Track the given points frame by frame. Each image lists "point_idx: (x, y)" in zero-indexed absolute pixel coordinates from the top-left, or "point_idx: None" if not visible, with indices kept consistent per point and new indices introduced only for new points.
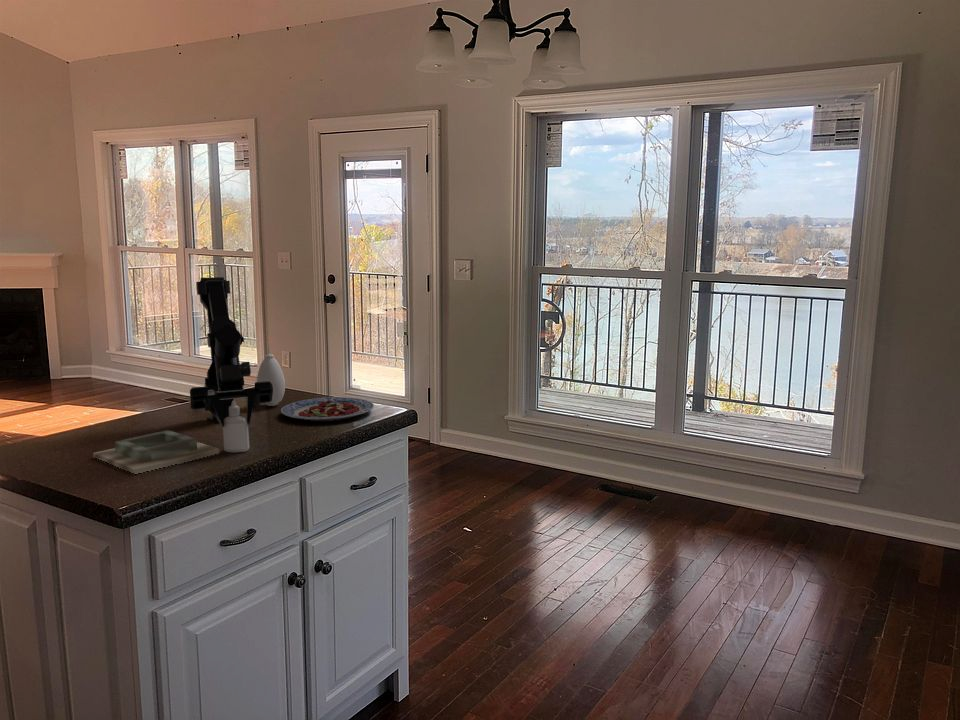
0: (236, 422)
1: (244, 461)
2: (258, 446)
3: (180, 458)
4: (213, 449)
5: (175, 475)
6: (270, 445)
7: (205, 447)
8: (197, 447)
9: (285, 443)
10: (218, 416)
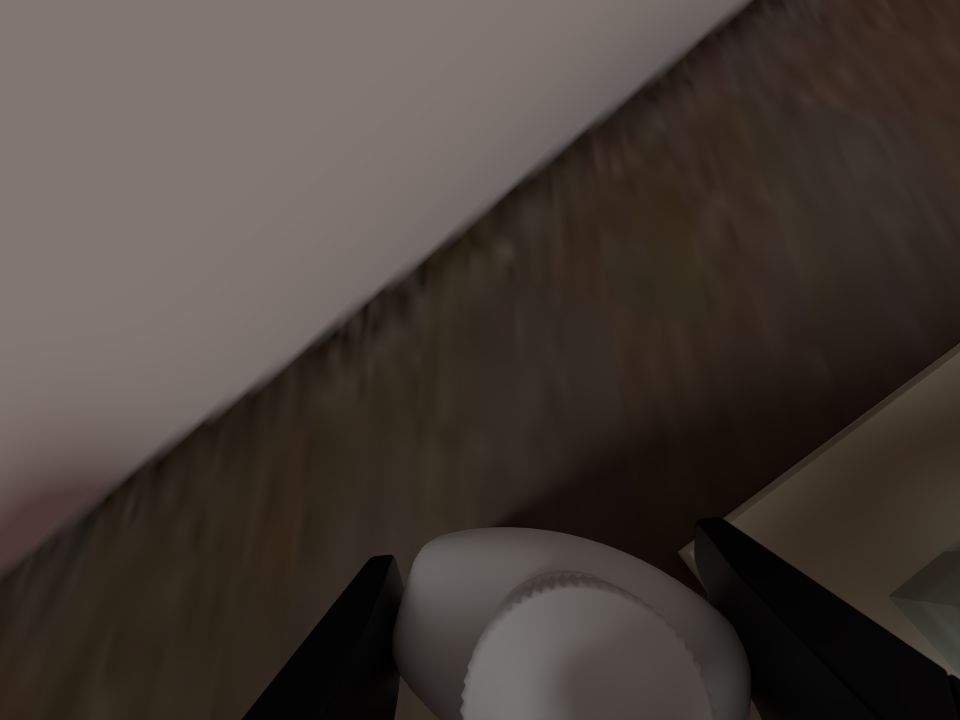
0: (536, 531)
1: (490, 316)
2: None
3: (940, 367)
4: None
5: (853, 167)
6: None
7: None
8: None
9: (174, 696)
10: (848, 606)
